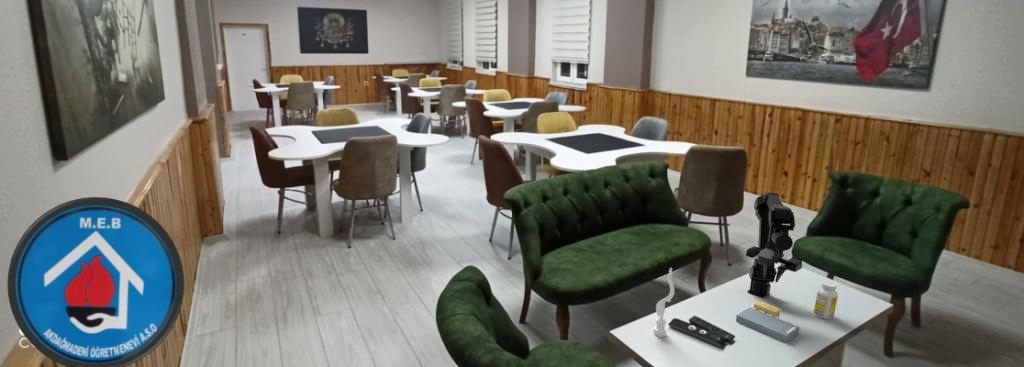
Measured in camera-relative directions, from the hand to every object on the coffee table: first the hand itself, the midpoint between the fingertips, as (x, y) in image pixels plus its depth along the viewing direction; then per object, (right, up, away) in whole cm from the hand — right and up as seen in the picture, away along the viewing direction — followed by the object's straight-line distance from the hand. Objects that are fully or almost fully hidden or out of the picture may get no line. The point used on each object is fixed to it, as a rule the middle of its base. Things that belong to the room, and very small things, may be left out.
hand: (769, 279), depth 209 cm
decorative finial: (-45, -16, -17) cm, 51 cm away
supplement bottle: (+20, -13, 0) cm, 24 cm away
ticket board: (-6, -15, -10) cm, 19 cm away
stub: (-3, -13, -2) cm, 14 cm away
